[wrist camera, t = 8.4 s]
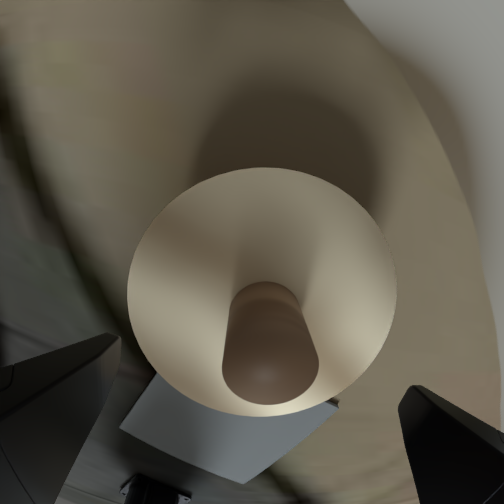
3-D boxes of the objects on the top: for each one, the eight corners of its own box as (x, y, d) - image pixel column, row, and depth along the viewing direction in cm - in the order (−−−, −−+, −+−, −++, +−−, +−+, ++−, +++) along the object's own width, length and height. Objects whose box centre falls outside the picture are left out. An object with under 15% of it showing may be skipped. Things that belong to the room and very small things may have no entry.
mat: (243, 481, 24) (243, 484, 24) (120, 424, 22) (118, 427, 22) (337, 405, 22) (338, 408, 21) (191, 324, 20) (190, 327, 19)
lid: (286, 431, 16) (295, 498, 11) (98, 327, 14) (51, 382, 9) (430, 270, 14) (492, 310, 9) (228, 112, 12) (216, 75, 7)
